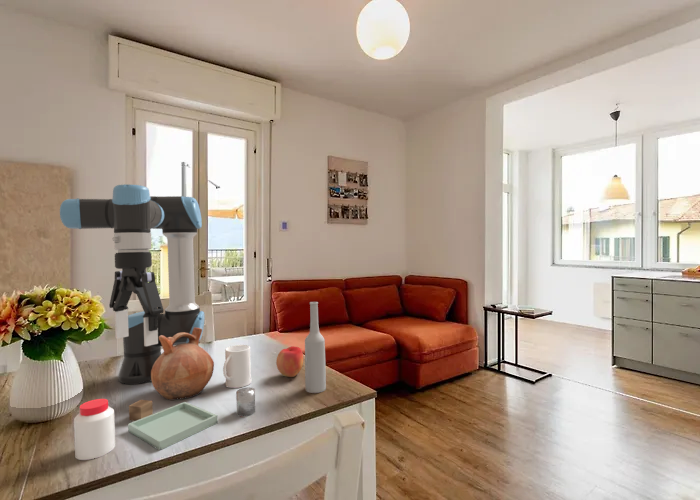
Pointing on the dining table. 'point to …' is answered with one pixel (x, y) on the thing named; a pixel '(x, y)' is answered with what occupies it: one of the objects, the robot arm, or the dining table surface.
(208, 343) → the dining table surface
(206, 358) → the jug
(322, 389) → the bottle
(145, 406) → the walnut block
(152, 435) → the tray
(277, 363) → the apple
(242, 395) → the grey tin
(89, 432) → the pill bottle
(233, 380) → the mug
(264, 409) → the dining table surface
